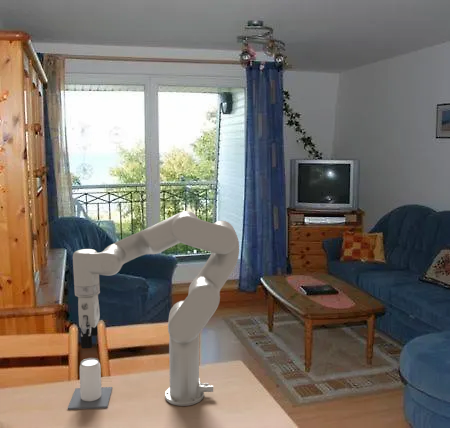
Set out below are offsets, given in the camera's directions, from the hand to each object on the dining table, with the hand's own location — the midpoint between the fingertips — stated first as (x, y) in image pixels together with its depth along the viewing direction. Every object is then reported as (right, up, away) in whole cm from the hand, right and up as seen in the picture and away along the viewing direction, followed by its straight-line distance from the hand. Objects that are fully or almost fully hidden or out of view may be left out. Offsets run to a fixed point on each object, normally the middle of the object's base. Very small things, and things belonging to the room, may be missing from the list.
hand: (89, 341), depth 154 cm
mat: (0, -19, +3) cm, 19 cm away
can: (0, -19, +3) cm, 19 cm away
